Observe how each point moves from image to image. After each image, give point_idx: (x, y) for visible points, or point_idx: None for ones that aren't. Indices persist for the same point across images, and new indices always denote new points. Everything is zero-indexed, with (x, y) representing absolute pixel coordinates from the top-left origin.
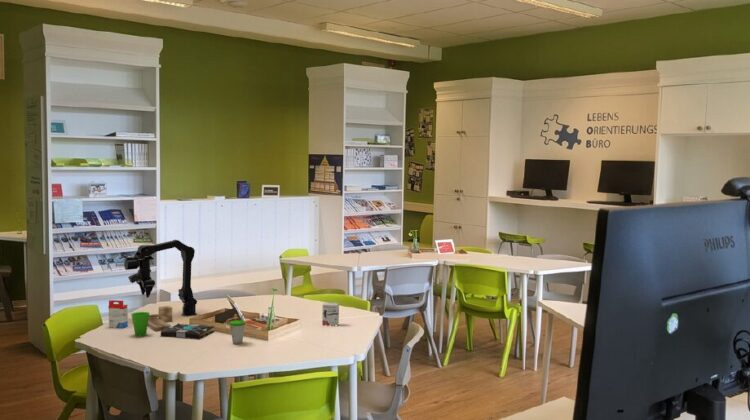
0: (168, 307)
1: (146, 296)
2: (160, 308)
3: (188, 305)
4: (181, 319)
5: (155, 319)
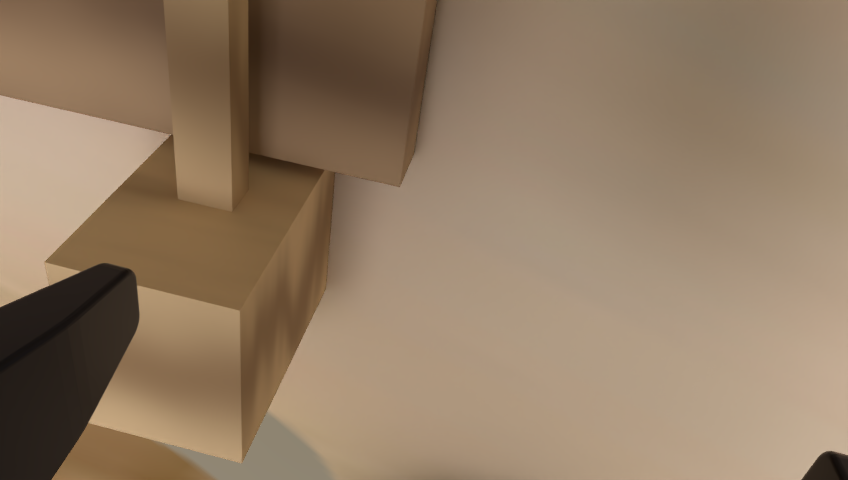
0: None
1: (85, 282)
2: None
3: None
4: None
5: None
